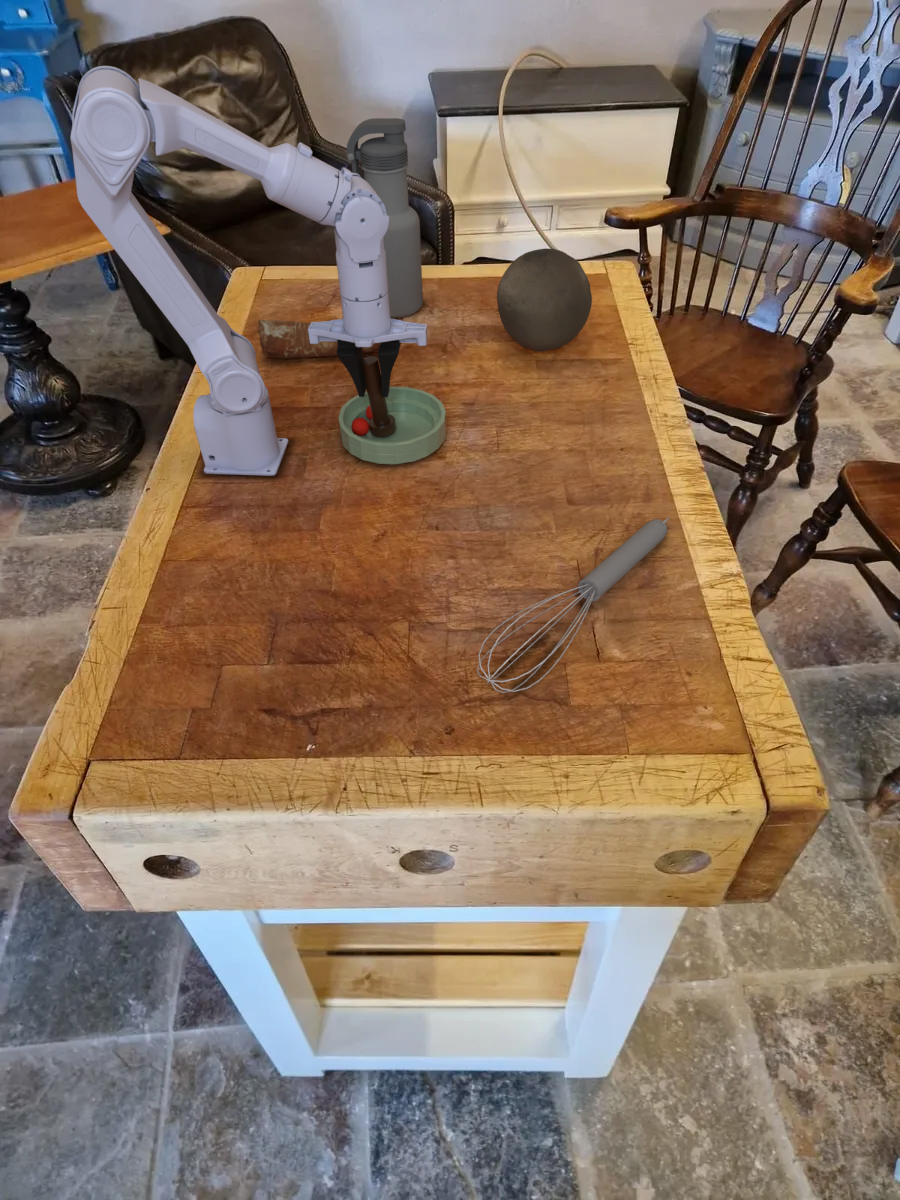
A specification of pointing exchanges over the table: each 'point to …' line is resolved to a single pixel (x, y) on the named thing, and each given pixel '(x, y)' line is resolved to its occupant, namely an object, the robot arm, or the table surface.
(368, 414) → the tomato
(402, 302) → the water bottle
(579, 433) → the table surface
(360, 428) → the tomato
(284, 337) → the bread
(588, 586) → the kitchen whisk
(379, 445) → the bowl
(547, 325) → the dark grey ball
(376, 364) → the stirrer
